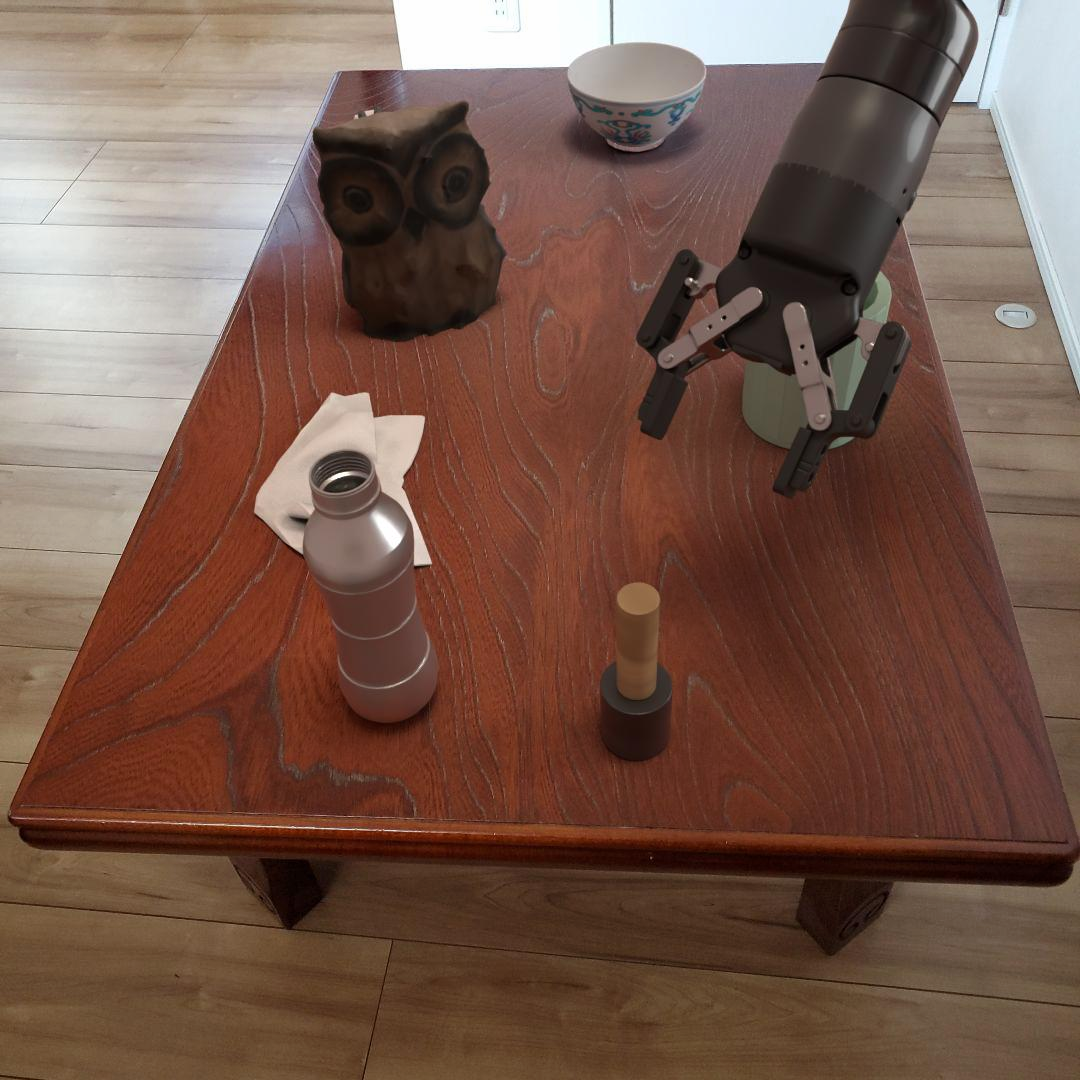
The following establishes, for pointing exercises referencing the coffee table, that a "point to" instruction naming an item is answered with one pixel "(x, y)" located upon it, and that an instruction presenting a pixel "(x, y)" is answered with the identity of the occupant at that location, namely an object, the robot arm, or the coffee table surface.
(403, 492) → the cloth
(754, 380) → the cup
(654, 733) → the peg in round base
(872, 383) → the robot arm
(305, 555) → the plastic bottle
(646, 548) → the coffee table surface
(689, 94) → the chinaware
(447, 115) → the owl
